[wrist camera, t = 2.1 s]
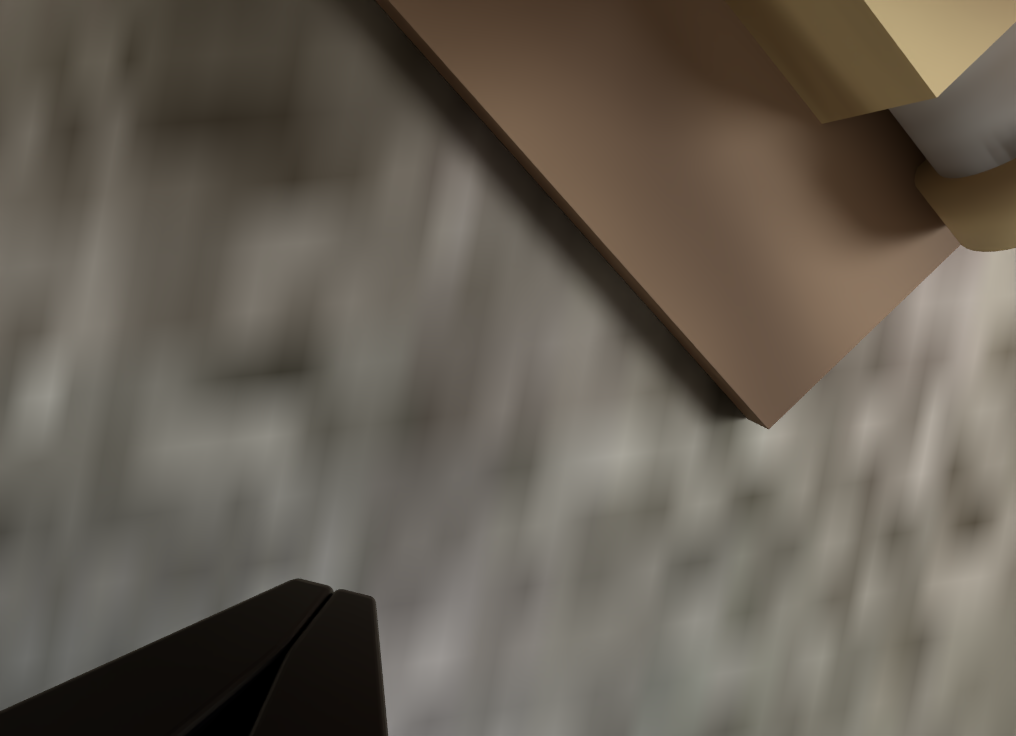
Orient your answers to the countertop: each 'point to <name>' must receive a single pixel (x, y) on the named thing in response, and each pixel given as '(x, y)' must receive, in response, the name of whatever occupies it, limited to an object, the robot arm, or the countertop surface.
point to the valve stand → (751, 155)
